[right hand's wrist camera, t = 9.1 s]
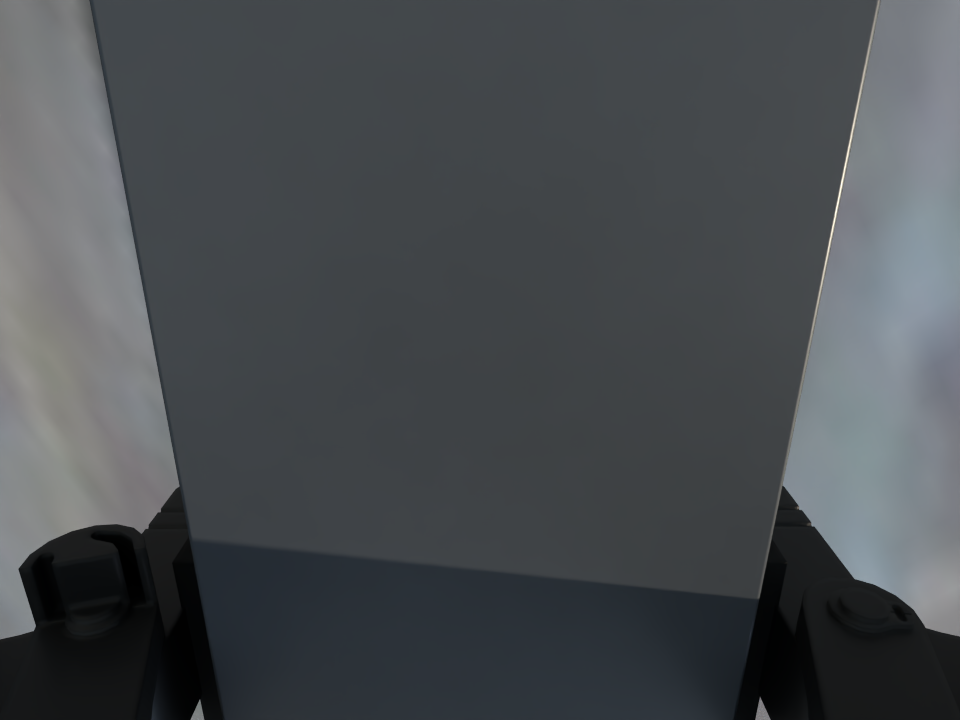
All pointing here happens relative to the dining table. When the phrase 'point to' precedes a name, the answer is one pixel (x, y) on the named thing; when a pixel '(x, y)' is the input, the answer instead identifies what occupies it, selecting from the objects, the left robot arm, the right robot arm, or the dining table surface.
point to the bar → (482, 334)
